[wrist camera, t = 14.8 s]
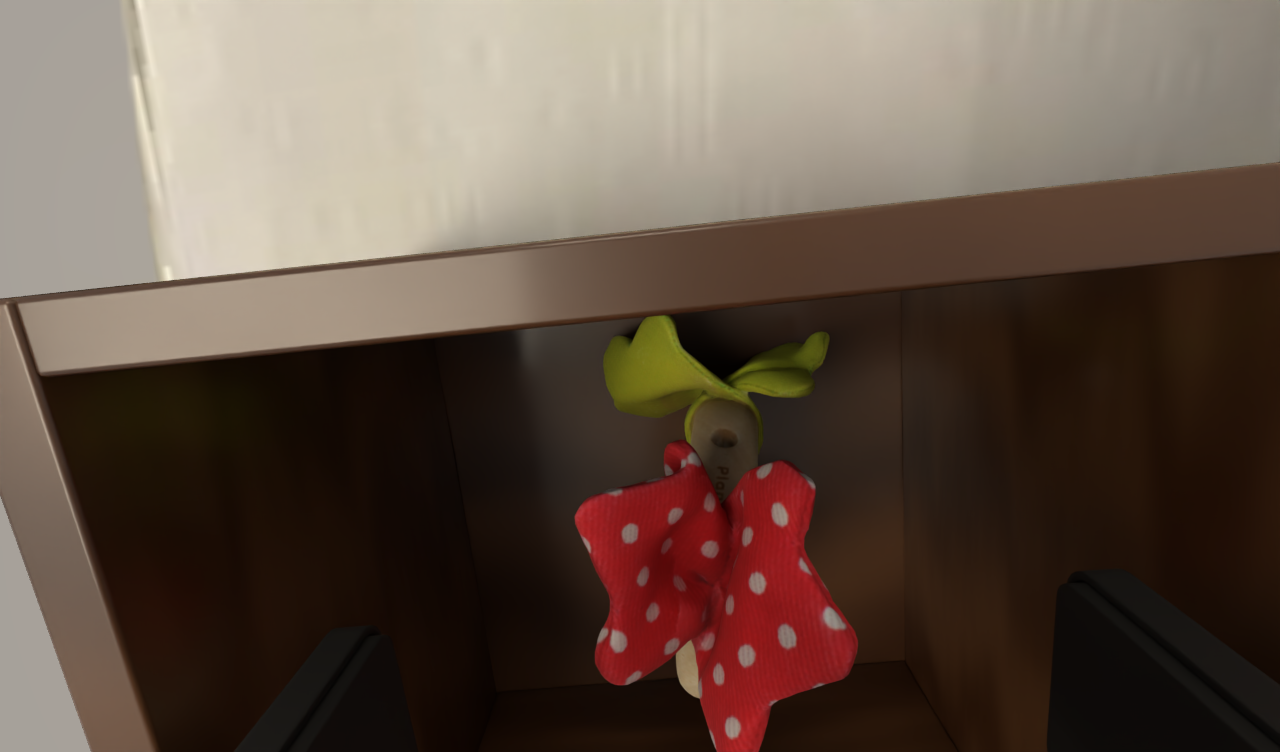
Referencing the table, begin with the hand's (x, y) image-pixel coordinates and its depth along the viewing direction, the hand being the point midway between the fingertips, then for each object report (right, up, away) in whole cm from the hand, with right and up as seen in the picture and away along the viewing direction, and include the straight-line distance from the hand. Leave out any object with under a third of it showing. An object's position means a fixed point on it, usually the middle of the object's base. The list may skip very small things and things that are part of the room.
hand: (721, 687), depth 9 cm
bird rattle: (+1, +2, +11) cm, 11 cm away
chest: (0, +1, +12) cm, 12 cm away
